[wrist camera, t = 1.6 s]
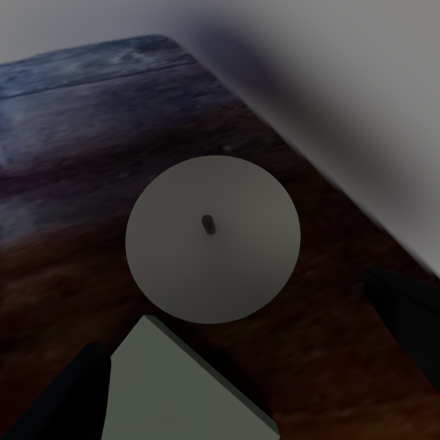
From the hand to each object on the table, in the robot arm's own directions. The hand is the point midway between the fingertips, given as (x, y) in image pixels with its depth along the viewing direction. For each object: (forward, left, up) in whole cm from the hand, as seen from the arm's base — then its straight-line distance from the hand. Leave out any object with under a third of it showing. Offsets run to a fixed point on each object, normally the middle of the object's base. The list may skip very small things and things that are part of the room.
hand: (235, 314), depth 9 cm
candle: (+2, -1, -10) cm, 10 cm away
